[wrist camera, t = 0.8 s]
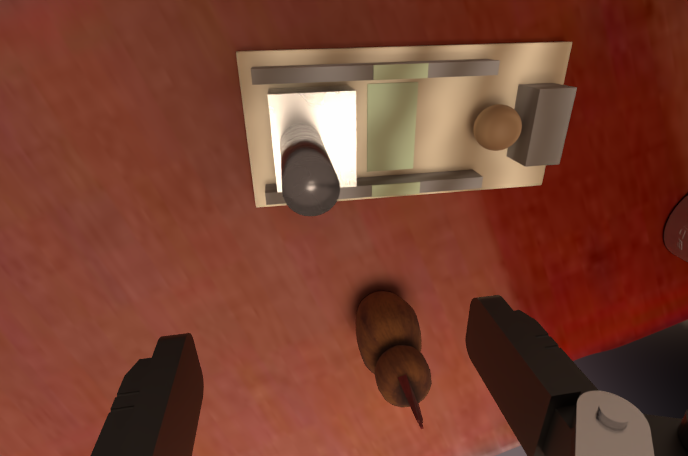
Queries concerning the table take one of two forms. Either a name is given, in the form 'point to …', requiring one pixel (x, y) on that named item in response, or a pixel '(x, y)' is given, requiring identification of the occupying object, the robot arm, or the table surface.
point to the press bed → (420, 113)
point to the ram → (313, 144)
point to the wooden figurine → (393, 349)
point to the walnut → (497, 127)
